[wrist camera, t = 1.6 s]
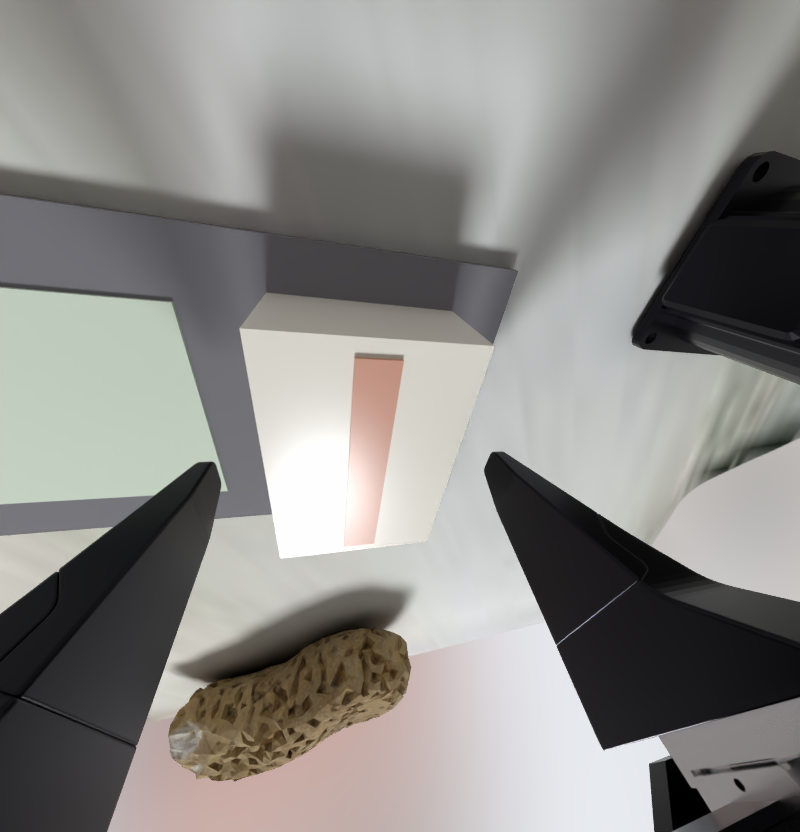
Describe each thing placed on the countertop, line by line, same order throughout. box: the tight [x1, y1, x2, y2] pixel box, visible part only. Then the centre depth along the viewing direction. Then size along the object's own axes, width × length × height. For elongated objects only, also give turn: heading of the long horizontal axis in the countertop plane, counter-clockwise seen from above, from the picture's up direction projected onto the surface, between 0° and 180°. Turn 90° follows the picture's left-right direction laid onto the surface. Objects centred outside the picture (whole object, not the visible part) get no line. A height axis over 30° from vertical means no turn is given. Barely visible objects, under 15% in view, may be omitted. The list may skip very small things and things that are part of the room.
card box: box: [239, 293, 495, 559], centre depth 10 cm, size 6×9×3 cm, turn 171°
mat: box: [0, 193, 518, 536], centre depth 10 cm, size 22×12×1 cm, turn 81°
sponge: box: [168, 628, 411, 781], centre depth 24 cm, size 13×8×20 cm
